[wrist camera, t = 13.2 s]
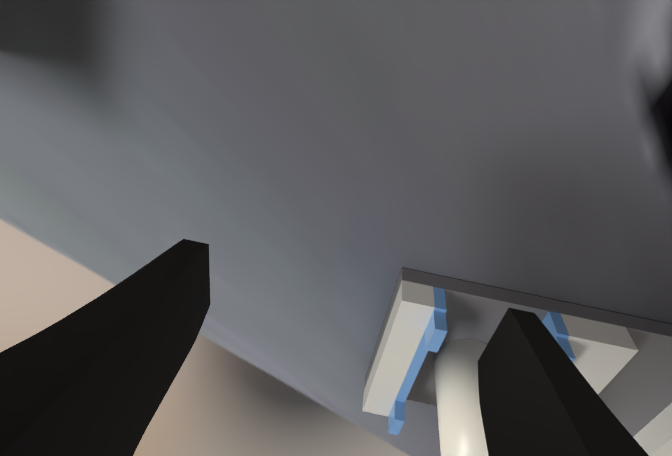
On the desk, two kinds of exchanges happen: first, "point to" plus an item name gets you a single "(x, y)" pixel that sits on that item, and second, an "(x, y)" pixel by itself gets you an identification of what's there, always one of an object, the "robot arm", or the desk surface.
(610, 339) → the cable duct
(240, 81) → the desk surface
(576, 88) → the desk surface
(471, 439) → the cream round-ended cylinder
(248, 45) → the desk surface
